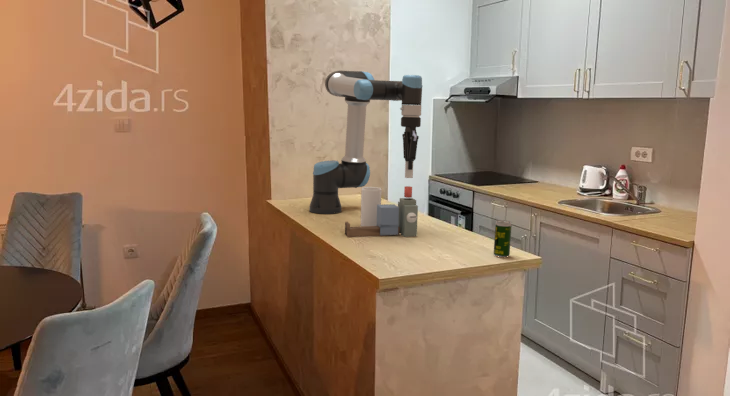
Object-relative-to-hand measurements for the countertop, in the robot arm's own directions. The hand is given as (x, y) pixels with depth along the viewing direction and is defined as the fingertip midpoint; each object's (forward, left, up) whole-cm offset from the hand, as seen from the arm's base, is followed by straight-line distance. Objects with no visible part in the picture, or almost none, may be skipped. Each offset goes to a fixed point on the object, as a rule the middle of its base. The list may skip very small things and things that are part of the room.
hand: (408, 177), depth 217 cm
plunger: (0, 0, -8) cm, 8 cm away
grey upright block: (0, 0, -22) cm, 22 cm away
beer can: (+36, +23, -23) cm, 48 cm away
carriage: (0, -8, -22) cm, 24 cm away
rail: (0, -14, -22) cm, 26 cm away
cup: (-15, -11, -23) cm, 29 cm away
